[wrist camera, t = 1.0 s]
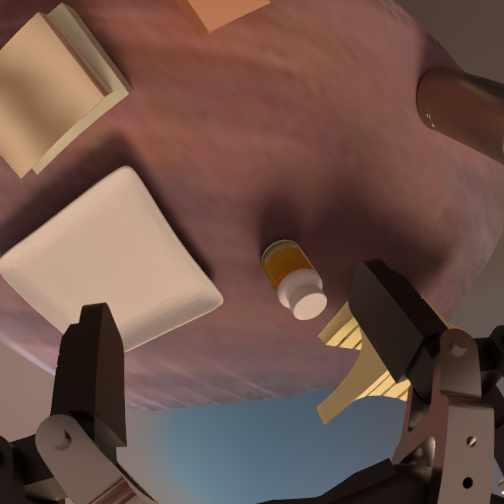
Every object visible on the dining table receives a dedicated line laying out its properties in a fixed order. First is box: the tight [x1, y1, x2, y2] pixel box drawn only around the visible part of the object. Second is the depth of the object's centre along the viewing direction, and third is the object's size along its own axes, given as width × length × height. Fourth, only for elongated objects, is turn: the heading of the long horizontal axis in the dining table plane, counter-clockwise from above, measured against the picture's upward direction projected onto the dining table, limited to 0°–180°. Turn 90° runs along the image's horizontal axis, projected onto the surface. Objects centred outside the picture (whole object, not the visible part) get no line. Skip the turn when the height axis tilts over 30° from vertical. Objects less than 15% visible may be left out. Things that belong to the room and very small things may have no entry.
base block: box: [32, 3, 133, 175], centre depth 21 cm, size 11×11×4 cm
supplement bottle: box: [261, 240, 327, 320], centre depth 38 cm, size 5×5×10 cm
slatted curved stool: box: [316, 293, 464, 425], centre depth 47 cm, size 30×16×18 cm, turn 58°
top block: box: [0, 12, 113, 178], centre depth 18 cm, size 9×9×4 cm
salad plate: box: [0, 166, 224, 353], centre depth 35 cm, size 21×21×3 cm
